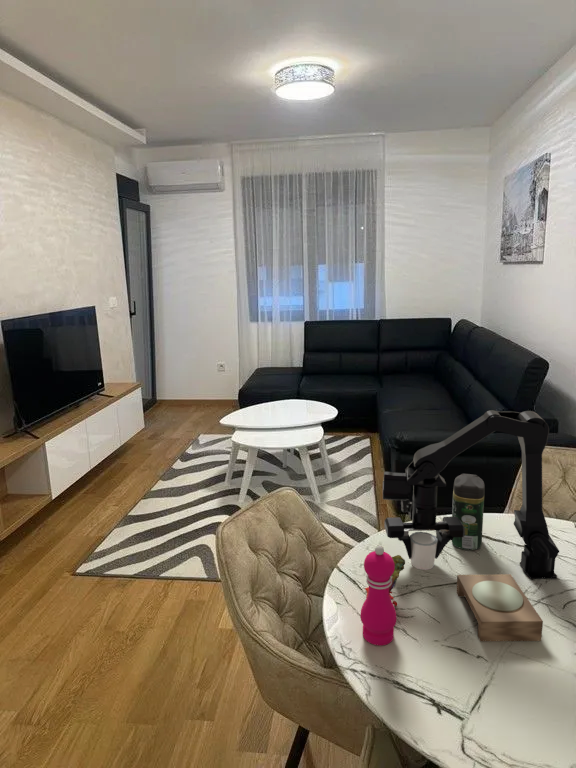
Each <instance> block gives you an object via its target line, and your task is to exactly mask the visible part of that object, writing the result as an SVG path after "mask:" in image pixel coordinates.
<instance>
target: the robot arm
mask: <svg viewBox="0 0 576 768" xmlns="http://www.w3.org/2000/svg"><path fill="white" fill-rule="evenodd" d="M549 427H550V426H549V424H548V423H547V422H546V420H544V418H542V417H541V416H540V415H539V414H538V413H536V412H535V411H533V410H525V411H522V412H518V411H504V410H503V411H501V410H500V411H499V410H493V409H491V410H487V411H486V412H484V414H482V415H481V416H480V417H478V418H476V419H475V420H474V421H472V422H470V423H469V424H467V425H466V426H464V427H463V428H461V429H460V430H458V431H456V432H455V433H453V434H452V435H450V436H449V437H447V438H445V439H444V440H442V441H440V442H436V443H431V444H429V445H426V446H424V447H421V448H420V449H418V450H417V451H416V452H415V453H414V455H413V460H412V461H411V462H410V464H408V466H407V467H406V468H405V469H404V470H405V472H392V471H384V472H383V480H382V500H385V501H386V500H387V501H388V500H389V501H400V505H401V506H400V508H401V510H400V511H401V512H402V513H408V515H409V520H411V522H403V521H402V518H401V517H397V516H396V517H395V516H394V517H386V518H385V520H384V521H383V522H384V530H385V533H386V536H387V538H389V539H398V541H400V542H403V544H404V546H405V550H406V553H407V556H408V559H409V560H411V539H410V534H409V532H412V531H413V532H414V531H415V532H426V531H428V532H429V531H432V532H433V531H434V532H435V536H436V538H437V548H436V554H435V559H438V558H439V556H440V554H441V553H442V551H443V550H444V548H445V547H446V545H447V544H448V543H449V542H450V541H452V540H453V537H464V536H465V528H464V525H463V524H462V522H461V521H460V519H459V518H458V517H452V516H443V517H442V520H439V521H437V514H438V508H437V506H438V487H441V488H443V487H447V482H446V481H445V478H444V477H443V476H442V475H440V473H441V472H442V471H443V470H445V469H446V467H447V466H448V465H449V463H450V462H451V461H452V460H453V459H455V457H457V456H459V455H460V454H462V453H463V452H465V451H467V449H470V448H471V447H472V446H474V445H476V444H477V443H479V442H481V441H483V440H484V439H485V438H487V437H488V436H490V435H491V434H494V433H495V432H498V433H504V434H507V435H511V436H514V437H517V439H518V442H519V445H520V450H521V493H522V497H521V498H522V499H521V501H522V503H521V504H522V505H521V507H520V509H519V510H518V509H513V514H514V521H513V525H514V526H513V527H515V530H516V531H517V534H518V535H519V537H520V538H521V539H522V540H523V543H524V545H523V550H522V551H521V555H520V556H521V557H520V561H519V566H520V568H522V570H523V572H525V574H526V575H527V576H528V577H529V578H530V579H531V580H533V579H534V580H535V579H540V580H541V579H544V580H545V579H546V580H547V579H548V580H549V579H557V578H558V574H557V573H555V566H556V558H557V556H558V555H559V553H560V550H559V548H558V546H557V545H556V543H555V542H554V540H553V538H552V537H551V535H550V533H549V529H548V523H547V521H546V518H545V514H544V511H543V510H544V509H543V452H544V450H545V448H546V446H547V444H548V441H549V434H550V428H549ZM411 487H412V489H413V490H412V491H411ZM411 492H412V493H411ZM411 495H412V500H411V501H410V499H409V497H410V498H411ZM529 578H528V579H529Z"/></svg>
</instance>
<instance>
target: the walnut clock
mask: <svg viewBox="0 0 576 768" xmlns="http://www.w3.org/2000/svg"><path fill="white" fill-rule="evenodd" d="M456 577H457V579H456V595H457V597H465V599H466V601H467V603H468V605H469V607H470V609H471V611H472V613H473V615H474V618H475V619H476V621H477V623H478V626H477V628H478V629H477V637H478V640H479V641H480V642H542V637H543V628H544V627H543V625H544V620H543V619H542V618H541V616H540V615H539V613H538V612H537V610H536V609H535V607H534V606H533V604H532V603H531V602H530V600H529V599H528V597H527V596H526V595H525V593H524V591H523V590H522V589H521V587H520V585H518V583H517V581H516V580H515V579H514V577H513V576H512V574H511V573H510V574H509V573H508V574H505V573H503V574H501V573H498V574H495V573H494V574H457V575H456Z"/></svg>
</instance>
